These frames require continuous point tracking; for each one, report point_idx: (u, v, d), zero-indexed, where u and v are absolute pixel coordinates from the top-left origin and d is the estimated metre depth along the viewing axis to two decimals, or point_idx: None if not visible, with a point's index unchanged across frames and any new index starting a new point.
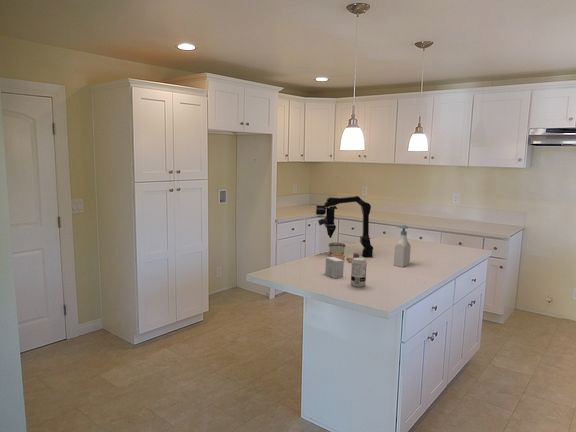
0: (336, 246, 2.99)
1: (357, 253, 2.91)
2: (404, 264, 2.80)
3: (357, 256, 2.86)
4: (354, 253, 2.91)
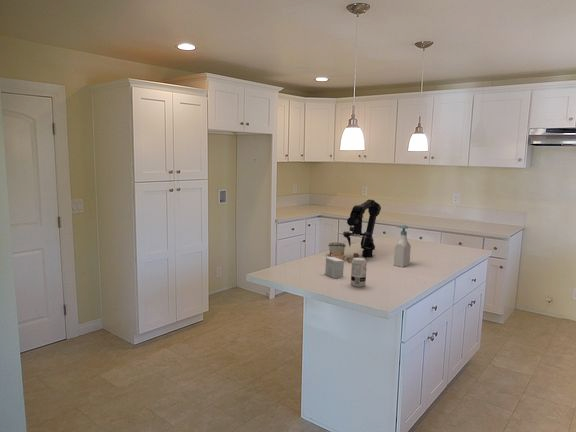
0: (336, 246, 2.99)
1: (357, 253, 2.91)
2: (404, 264, 2.80)
3: (357, 256, 2.86)
4: (354, 253, 2.91)
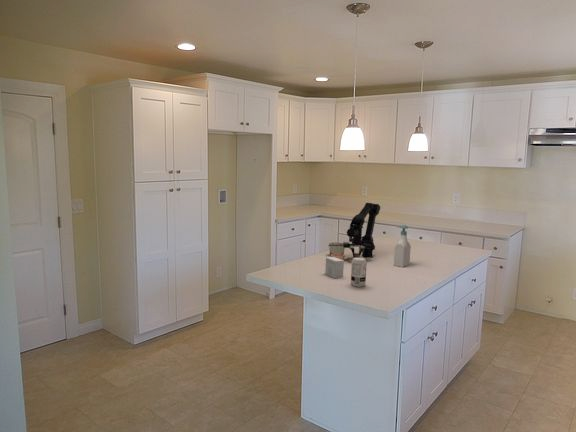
0: (336, 246, 2.99)
1: (357, 253, 2.91)
2: (404, 264, 2.80)
3: (357, 256, 2.86)
4: (354, 253, 2.91)
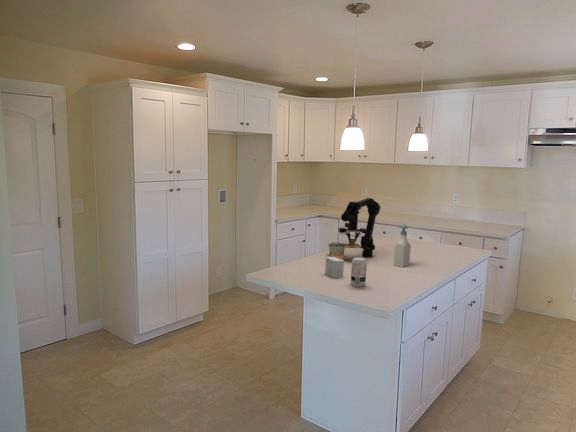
0: (336, 246, 2.99)
1: None
2: (404, 264, 2.80)
3: (353, 241, 2.84)
4: None
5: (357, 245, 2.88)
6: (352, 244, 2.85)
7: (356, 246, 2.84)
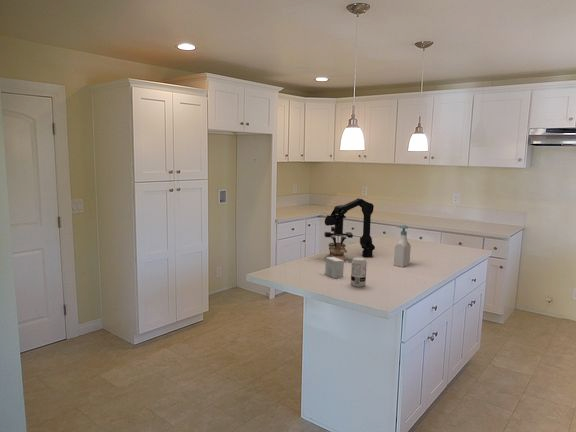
0: None
1: (339, 243, 2.90)
2: (404, 264, 2.80)
3: (339, 245, 2.85)
4: (336, 243, 2.90)
5: (343, 249, 2.88)
6: (338, 248, 2.85)
7: (342, 250, 2.85)
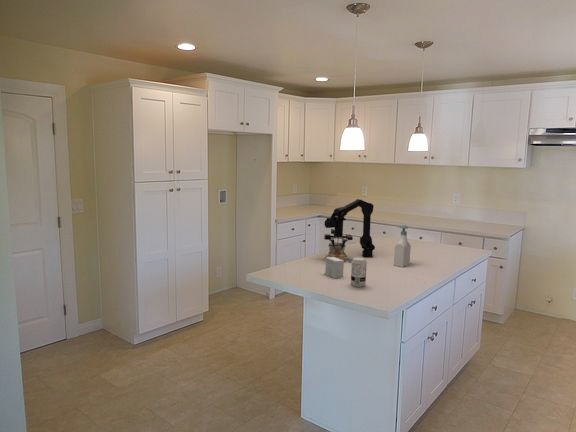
0: (336, 246, 2.99)
1: None
2: (404, 264, 2.80)
3: (338, 250, 2.85)
4: (336, 247, 2.90)
5: (343, 254, 2.89)
6: (337, 253, 2.85)
7: (341, 255, 2.85)
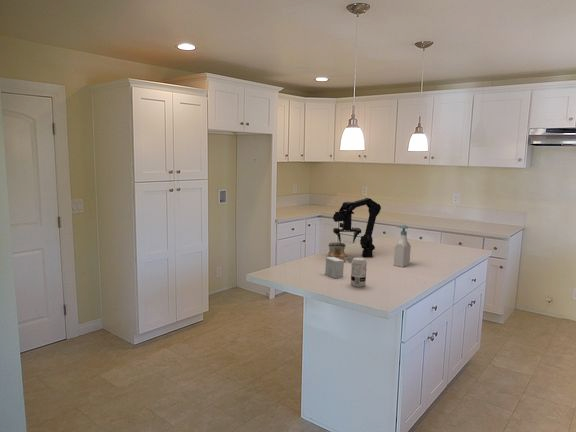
0: (336, 246, 2.99)
1: None
2: (404, 264, 2.80)
3: (338, 250, 2.85)
4: (336, 247, 2.90)
5: (343, 254, 2.89)
6: (337, 253, 2.85)
7: (341, 255, 2.85)
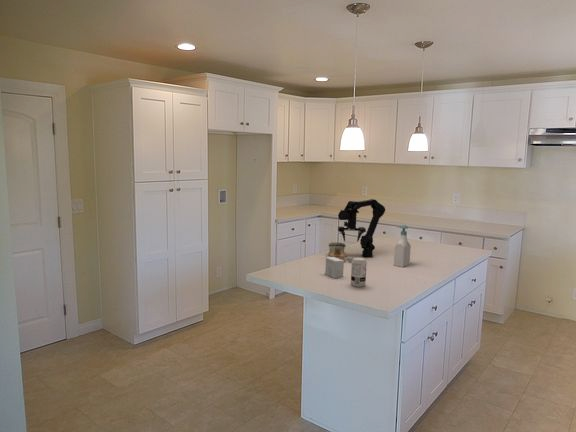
0: (336, 246, 2.99)
1: None
2: (404, 264, 2.80)
3: (338, 250, 2.85)
4: (336, 247, 2.90)
5: (343, 254, 2.89)
6: (337, 253, 2.85)
7: (341, 255, 2.85)
